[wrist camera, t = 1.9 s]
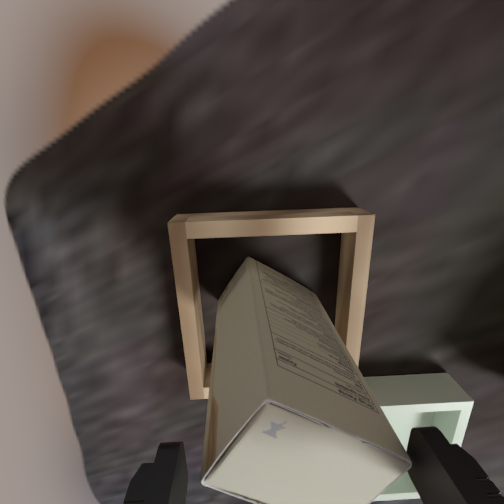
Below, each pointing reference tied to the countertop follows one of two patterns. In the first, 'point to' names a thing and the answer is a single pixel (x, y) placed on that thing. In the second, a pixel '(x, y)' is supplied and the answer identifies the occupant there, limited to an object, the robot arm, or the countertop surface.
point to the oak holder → (268, 224)
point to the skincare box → (291, 402)
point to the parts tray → (420, 414)
